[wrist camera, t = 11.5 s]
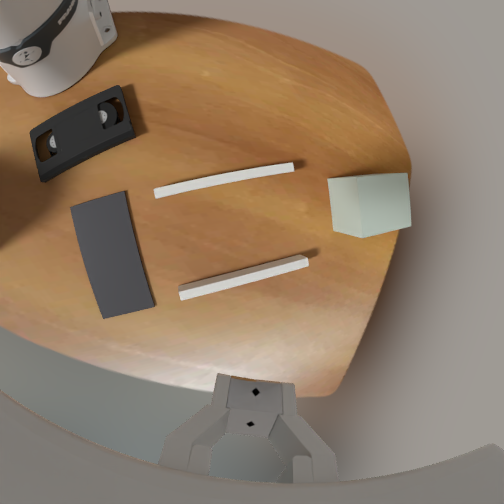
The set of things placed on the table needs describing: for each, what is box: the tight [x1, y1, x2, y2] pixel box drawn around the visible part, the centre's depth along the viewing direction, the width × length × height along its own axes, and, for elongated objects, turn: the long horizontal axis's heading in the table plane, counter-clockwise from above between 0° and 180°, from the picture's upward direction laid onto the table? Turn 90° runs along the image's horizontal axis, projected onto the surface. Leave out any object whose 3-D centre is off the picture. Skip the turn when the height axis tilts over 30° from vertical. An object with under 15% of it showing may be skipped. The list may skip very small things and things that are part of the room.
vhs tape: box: [30, 85, 136, 182], centre depth 29 cm, size 14×8×2 cm, turn 109°
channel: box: [70, 162, 309, 319], centre depth 35 cm, size 16×30×2 cm, turn 101°
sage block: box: [328, 173, 411, 238], centre depth 39 cm, size 8×10×8 cm
